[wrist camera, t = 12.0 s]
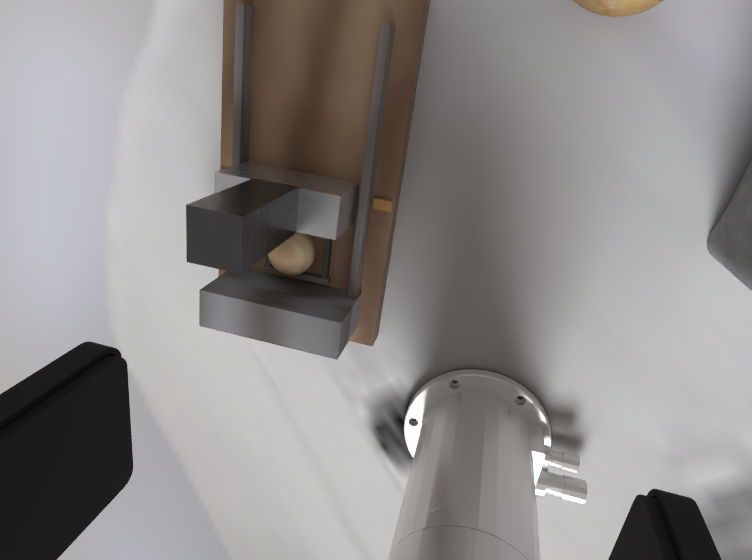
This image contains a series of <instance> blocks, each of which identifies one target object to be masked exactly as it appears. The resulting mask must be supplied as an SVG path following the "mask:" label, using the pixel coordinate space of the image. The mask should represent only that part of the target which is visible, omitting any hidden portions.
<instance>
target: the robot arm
mask: <svg viewBox="0 0 752 560" xmlns="http://www.w3.org/2000/svg"><path fill="white" fill-rule="evenodd" d="M454 380H456V381H454ZM519 396H522V397H519ZM404 434H405V440H406V444H407V447H408V450H409V452H410V453H411V455H412V457H413V461H412V465H411V469H410V473H409V477H408V481H407V485H406V489H405V493H404V497H403V501H402V505H401V510H400V514H399V518H398V522H397V526H396V530H395V534H394V538H393V542H392V546H391V550H390V554H389V558H388V560H540V546H539V531H538V516H537V501H536V496H538V497H541V498H542V497H543V496H544V494H548V495H552V496H556V497H559V498H560V499H562V500H565V501H569V502H573V503H576V504H580V505H583V504H584V502H585V500H586V495H587V483H586V481H584V480H580V479H577V478H573V477H569V476H565V475H563V476H561V475H557V474H553V473H550V472H548V468H547V466H552V467H556V468H559V469H560V470H564V471H568V472H571V473H575V474H576V473H577V472H578V469H579V464H580V458H579V456H575V455H571V454H567V453H564V452H563V453H560V452H556V451H552V450H551V444H552V439H551V429H550V424H549V420H548V417H547V415H546V413H545V411H544V408H543V407H542V405H541V404H540V403H539V401H538V400H537V399H536V397H535V396H534V395H533V394H532V393H531V392H530V391H528V390H527V389H526V388H525V387H524V386H522V385H521V384H519V383H518V382H516V381H514V380H513V379H511V378H508V377H506V376H504V375H501V374H499V373H495V372H491V371H486V370H477V369H464V370H455V371H451V372H448V373H444V374H441V375H439V376H437V377H435V378H433V379H431V380H430V381H429V382H427V383H426V384H425V385H423V386H422V387H421V388H420V389H419V390H418V391H417V393H416V394H415V395H414V396H413V398H412V400H411V402H410V404H409V406H408V410H407V413H406V416H405V423H404ZM131 440H132V439H131V422H130V406H129V390H128V372H127V363H126V361H125V359H123V358H122V357H121V353H120V352H119V350H117V349H116V348H113V347H108V346H105V345H101V344H97V343H93V342H85V343H82V344H80V345H78V346H77V347H75V348H74V349H72V350H70V351H69V352H67V353H66V354H64V355H62V356H61V357H59V358H58V359H56V360H55V361H53V362H51V363H50V364H48V365H47V366H45V367H43V368H42V369H40V370H39V371H37V372H35V373H34V374H32V375H31V376H29V377H27V378H26V379H24V380H23V381H21V382H20V383H18V384H16V385H15V386H13V387H11V388H10V389H8V390H7V391H5V392H3V393H2V394H0V560H57V559H58V557H59V556H60V555H61V554H62V553H63V552H64V551H65V550H66V549H67V548H68V547H69V546H70V545H71V544H72V543H73V541H74V540H75V539H76V538H77V537H78V536H79V535H80V534H81V533H82V532H83V531H84V530H85V529H86V527H87V526H88V525H89V524H90V523H91V522H92V521H93V520H94V519H95V518H96V517H97V516H98V515H99V513H101V511H102V510H103V509H104V508H105V507H106V506H107V505H108V504H109V503H110V502H111V501H112V500H113V499H114V498H115V496H116V495H117V494H118V493H119V492H120V491H121V490H122V489H123V488H124V487H125V485H126V484H127V483H128V481H129V479H130V477H131V475H132V471H133V457H132V441H131ZM609 560H721V558H720V555H719V553H718V551H717V549H716V546H715V544H714V542H713V539H712V537H711V535H710V533H709V530H708V528H707V526H706V524H705V521H704V519H703V517H702V515H701V512H700V510H699V508H698V506H697V504H696V502H695V501H694V500H693V499H691V498H688V497H685V496H681V495H677V494H673V493H669V492H665V491H662V490H658V489H652V490H651V491H650V492H649V493H648V495H647V496H644V495H638V496H636V498H635V500H634V502H633V504H632V506H631V509H630V511H629V513H628V516H627V518H626V520H625V523H624V525H623V527H622V529H621V532H620V534H619V536H618V539H617V541H616V543H615V546H614V548H613V550H612V553H611V555H610V557H609Z"/></svg>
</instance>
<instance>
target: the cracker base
mask: <svg viewBox="0 0 752 560" xmlns="http://www.w3.org/2000/svg"><path fill="white" fill-rule="evenodd" d="M429 1H430V0H224V18H223V72H222V126H221V170H223V169H226V168H229V167H232V166H235V165H238V164H241V163H244V162H250V163H255V164H260V165H266V166H271V167H276V168H282V169H287V170H292V171H298V172H303V173H309V174H314V175H319V176H325V177H330V178H335V179H341V180H346V181H351V182H357V183H359V186H358V194H357V202H356V211H355V219H354V223H353V224H352V225H351V226H350V227H349V228H348V229H347V230H346V231H345V232H344V233H343V234H342V235H340V236H339V237H338V238H337V239H336V240H333V239H328V238H323V237H318V236H313V235H309V236H310V238H311V239H312V241H313V243H314V246H315V258H314V261H313V263H312V264H311V266H310V267H309V268H308V269H307V270H306V271H304V272H303V273H300V274H297V275H286V274H283V273H281V272H279V271H278V270H276V269H275V268H274V267H273V266H272V264H271V262H270V260H269V257H268V254H267V255H266V256H265V257H263V258H262V259H260V260H259V261H258V262H256V263H255V264H254V265H252V266H251V267H250V268H248V269H247V270H246V271H244V272H243V273H242V274H239V273H235V272H230V271H226V270H221V269H219V277H218V278H216V279H215V280H214V281H212V282H211V283H209V284H208V285H206V286H205V287H203V288H202V289H201V290H200V326H202V327H207V328H211V329H215V330H219V331H223V332H227V333H231V334H235V335H239V336H243V337H247V338H251V339H255V340H259V341H264V342H268V343H272V344H276V345H280V346H284V347H288V348H292V349H296V350H300V351H304V352H308V353H312V354H317V355H321V356H325V357H329V358H333V359H338V357H339V356H340V354H341V352H342V351H343V349H344V347H345V346H346V344H347V343H348V341H353V342H357V343H361V344H365V345H370V346H373V344H374V342H375V340H376V338H377V336H378V331H379V325H380V318H381V312H382V305H383V299H384V292H385V286H386V279H387V273H388V266H389V260H390V254H391V247H392V241H393V234H394V228H395V221H396V215H397V208H398V202H399V195H400V189H401V182H402V176H403V169H404V163H405V156H406V150H407V143H408V137H409V131H410V124H411V118H412V111H413V105H414V98H415V92H416V85H417V79H418V72H419V66H420V59H421V53H422V46H423V40H424V33H425V27H426V20H427V14H428V7H429Z"/></svg>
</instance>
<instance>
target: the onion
mask: <svg viewBox="0 0 752 560" xmlns="http://www.w3.org/2000/svg"><path fill="white" fill-rule="evenodd" d="M573 1H574V2H575V3H577V4H578V5H579V6H581V7H583V8H585V9H587V10H588V11H591V12H593V13H596V14H600V15H604V16H612V17H617V16H628V15H633V14H637V13H640V12H643V11H646V10H648V9H650V8H652V7H654V6H655V5H657V4H659V3H660V2H662V1H663V0H573Z"/></svg>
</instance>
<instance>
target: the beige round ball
mask: <svg viewBox="0 0 752 560" xmlns="http://www.w3.org/2000/svg"><path fill="white" fill-rule="evenodd" d="M268 257H269V260H270V262H271V264H272V266H273V267H274V268H275V269H276V270H278V271H279V272H281V273H283V274H286V275H297V274H300V273H303V272H304V271H306V270H307V269H308V268H309V267H310V266H311V264H312V263H313V261H314V258H315V246H314V243H313V241H312V239H311V238H310V236H309V235H308V234H304V233H299V232H296V234H294V235H293V236H292V237H290V238H289V239H288V240H286V241H285V242H283V243H282V244H281V245H279V246H278V247H277V248H275V249H274V250H273V251H271V252H270V253H269V254H268Z"/></svg>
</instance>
